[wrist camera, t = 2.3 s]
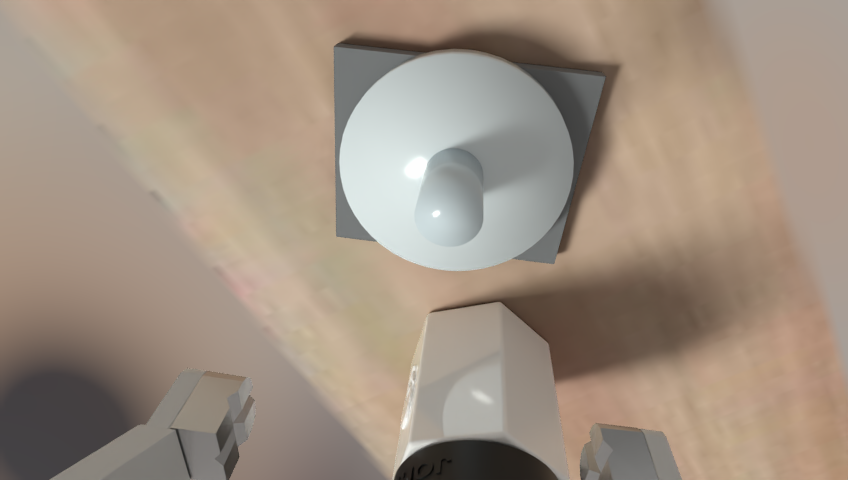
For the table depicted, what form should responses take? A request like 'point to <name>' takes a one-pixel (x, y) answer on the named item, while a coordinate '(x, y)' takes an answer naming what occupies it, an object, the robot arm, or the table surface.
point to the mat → (564, 85)
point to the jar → (480, 401)
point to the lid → (456, 160)
